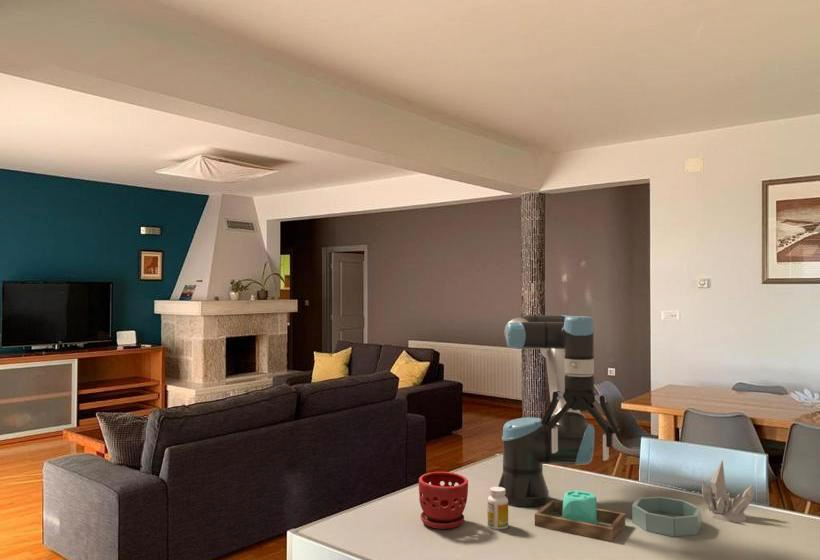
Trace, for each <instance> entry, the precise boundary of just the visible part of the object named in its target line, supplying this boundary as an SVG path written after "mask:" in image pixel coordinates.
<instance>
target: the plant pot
mask: <svg viewBox="0 0 820 560" xmlns="http://www.w3.org/2000/svg"><path fill="white" fill-rule="evenodd" d="M442 482H444V483H443V484H444V485H442V484H441V483H442ZM449 483H451V485H450V484H449ZM456 483H457V484H458V485H456ZM468 492H469V480H468V478H467V477H465V476H464V475H462V474H459V473H454V472H449V471H433V472H427V473H424V474H423V475H421V476H420V477H419V478H418V494H419V495H418V496H419V505H420V507H421V510H422V512H421V513H420V514H419V515H420V517H419V518H420V520H421V522H423V523H424V524H425V526H428V527H430V528H435V529H440V530H448V529H453V528H457V527H459V526H461V525H462V524H463V523H464V520H465V515H464V514H463V513H464V511H465V509H466V505H467V500H468ZM424 524H423V525H424Z"/></svg>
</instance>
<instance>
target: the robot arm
mask: <svg viewBox="0 0 820 560" xmlns="http://www.w3.org/2000/svg"><path fill="white" fill-rule="evenodd" d="M594 332H595V328H594V319H593V318H592V317H591V316H587V315H585V316H583V315H579V316H578V315H566V314H565V315H564V314H559V315H552V314H551V315H549V314H548V315H547V314H546V315H545V314H543V315H542V314H541V315H539V314H536V315H535V314H527V315H521V316H518V317H514V318H512V319H510V320H509V321H507V322H506V324H505V326H504V330H503V335H504V338H505V341H506V347H507V348H509V349H516V350H521V349H522V350H540V354H541V355H542V356H543V357H544V358H545V359H546V361H545V362H546V370H547V383H548V390H549V398H550V399H549V401H550V403H549V405H548V407H547V410H546V411H545V414H544V415H543V417H542V418H540V417H532V416H531V417H529V416H527V417H520V418H515V419H511V420H508V421H506V423H504V425H503V427H502V436H501V440H502V473H501V477H500V479H499V482H498V486H497V487H503V488H505V497H507V499H508V506H517V507H529V508H530V507H538V506H543V505H547V504H548V503H549V502H550V501H549V500H550V493H549V489H548V486H547V482H546V480H545V477H544V471H543V468H544V467H543V465H546V464H547V465H566V466H567V465H573V466H578V465H581V466H582V465H588V464H590V463H591V462H592V460H593V456H594V450H595V427H594V424H592V423H588V420H587V418H586V416H585V415H584V414H582V413H581V412H586V411H587V412H588V413H589V414H590V415H591V416H592V418H593V420H595V421H596V423H597V424H598V425H599V427H600V428H601V429H602V431H604V433H603V434H602V461H604V462H605V461H607V460H609V459H610V458H609V457H610V456H609V455H610V454H609V453H610V451H609V450H610V448H611V447H612V446H613V434H617V433H619V432H620V431H621V428H620V426H619V424H618V422H617V420H616V418H615V416H614V414H613V411H612V410H611V407H610V406H609V403H608V397H607V395H606V394H604V393H603V394H601V395H600V394H599V395H596V394H595V377H594V376H593V375H594V373H595V366H594V365H595V360H594V358H595V357H594V346H595V344H594V342H595V341H594V340H595V338H594V337H595V336H594V335H595V334H594ZM595 401H597V403H598V404H599V406H600V408H601V409H602V411H603V414H604V416H605V418H606V420H607V421H606V420H605V418H604V417H603V415H602V414H601V413H600V412H599V411H598V408H597V407H596V406H595Z"/></svg>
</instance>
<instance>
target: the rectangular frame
mask: <svg viewBox="0 0 820 560" xmlns="http://www.w3.org/2000/svg"><path fill="white" fill-rule="evenodd" d="M553 514H561V515H563V501H560V500H559V501H557V500H553V499H552V500H550V501H548V502H547V503H546V504H544V506H543V507H541V508H540V509H539V510H538V511H536V512H535V513H534V526H536V527H540V528H545V529H550V530H554V531H560V532H563V533H568V534H573V535H579V536H582V537H589V538H592V539H599V540H603V541H606V542H607V541H608V542H613V541H614V540H615V538H617V536H618V535H619V534H620V533H621V531H622V530H623V528H624V527H625V526H626V513H624V512H619V511H614V510H608V509H602V508H598V507H597V519H596V522H602V523H606V524H610V525H609V526H604V525H599V524H596V525H595V524H590V523H585V522H580V521H575V520H570V519H565V518H563V517H559V516H555V515H554V516H553Z"/></svg>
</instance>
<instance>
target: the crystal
mask: <svg viewBox="0 0 820 560" xmlns="http://www.w3.org/2000/svg"><path fill="white" fill-rule="evenodd" d="M725 477H726V476H725V471H724V461H723V460H721V461H720V463H719V465H718V466H717V469H716V471H715V472H714V474H713V476H712V478H711V480H710V485H711V488H710V487H709V485H708V484H706V483H705V481H704V480H702V487H701V495H702V497H701V498H703V501H705V503H706V505H707V507H708V508H707V510H706V515H708V516H709V517H711V518H713V519H716V520H719V521H722V522H723V521H724V522H734V523H738V522H739V523H741V522H744V521H747V516H746V514H745V513H744V512H745V511H746V510H747V508H748V507H749V505H750V504H751V502H752V500H753V499H754V497H755V495H754V488H753V486H754V485H753V484H751V485H750V486H749V487H748V488H746V489H745V490H744V491H743V494H742V495H741V493H738V494H737V495H735V496H734V497H733V498H731V497H730V492H728V493H727V486H726V479H725Z"/></svg>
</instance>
